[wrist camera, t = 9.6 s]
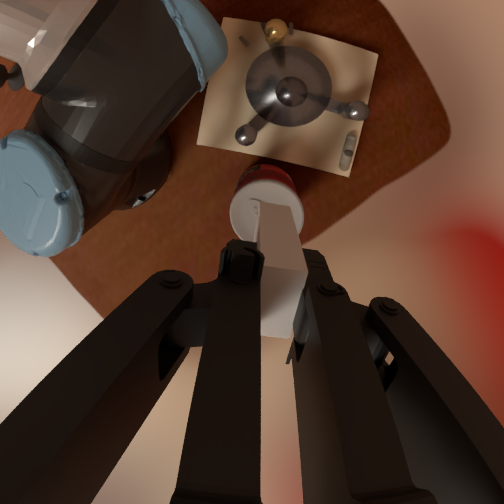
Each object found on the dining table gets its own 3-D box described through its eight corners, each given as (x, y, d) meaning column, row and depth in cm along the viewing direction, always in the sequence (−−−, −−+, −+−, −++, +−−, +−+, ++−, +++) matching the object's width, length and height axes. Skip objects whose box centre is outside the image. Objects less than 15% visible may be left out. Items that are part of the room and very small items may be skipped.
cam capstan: (358, 119, 36) (376, 121, 30) (238, 145, 38) (233, 153, 32) (331, 21, 31) (344, 5, 24) (209, 47, 33) (198, 35, 26)
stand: (199, 142, 40) (194, 145, 37) (226, 15, 33) (223, 8, 29) (345, 174, 41) (351, 179, 38) (374, 51, 34) (383, 47, 30)
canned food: (249, 153, 41) (245, 168, 31) (304, 177, 42) (317, 199, 32) (228, 204, 44) (218, 234, 34) (281, 225, 45) (286, 261, 35)
